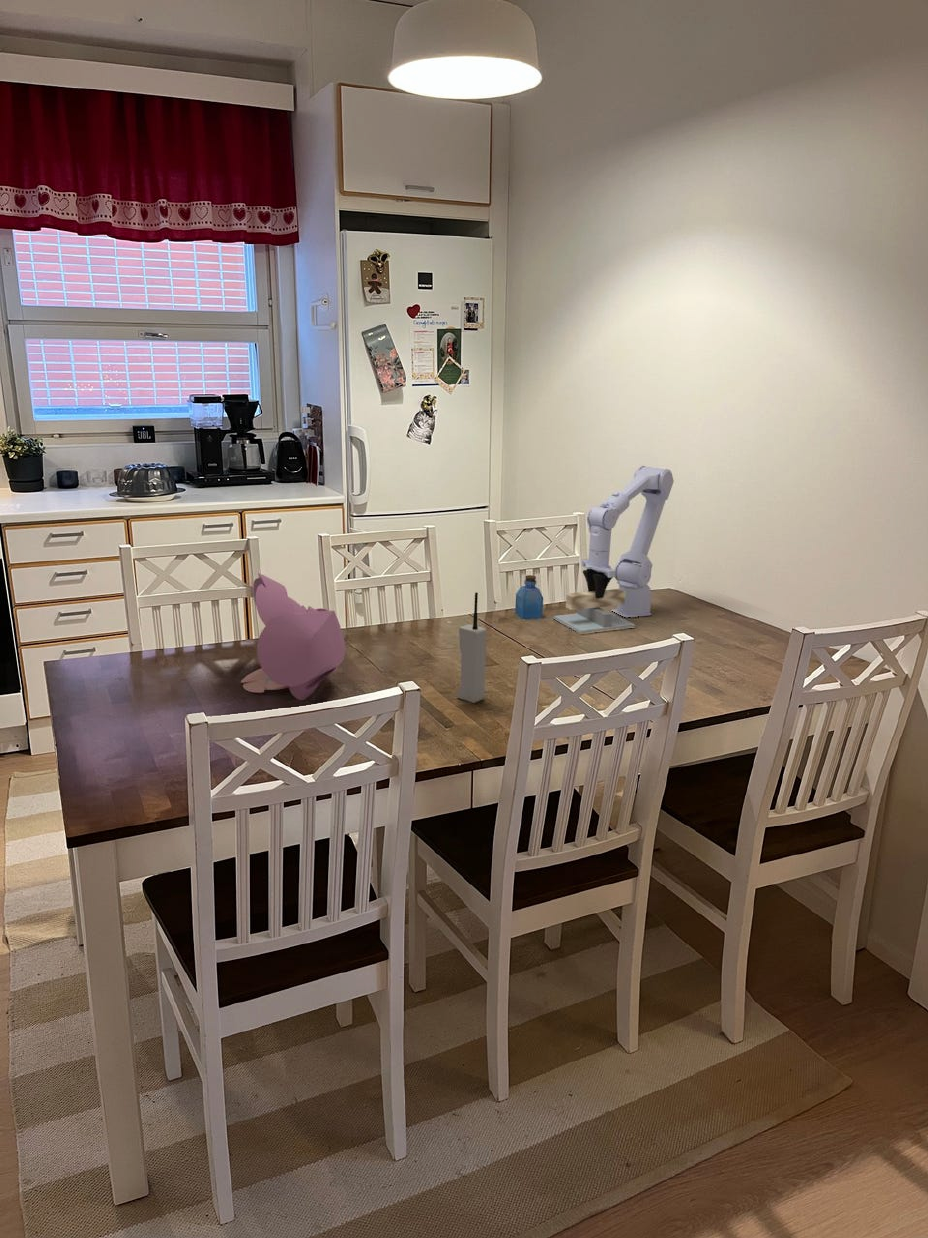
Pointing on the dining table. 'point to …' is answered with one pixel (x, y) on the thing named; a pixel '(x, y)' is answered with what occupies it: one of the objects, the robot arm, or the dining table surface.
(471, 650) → the vintage mobile phone
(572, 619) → the stand
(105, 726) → the dining table surface
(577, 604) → the ash batten
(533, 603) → the perfume bottle
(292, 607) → the purple toy bird
